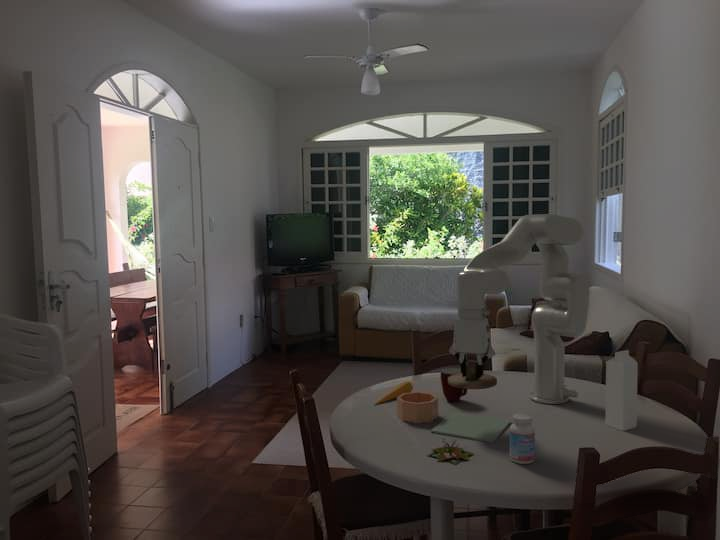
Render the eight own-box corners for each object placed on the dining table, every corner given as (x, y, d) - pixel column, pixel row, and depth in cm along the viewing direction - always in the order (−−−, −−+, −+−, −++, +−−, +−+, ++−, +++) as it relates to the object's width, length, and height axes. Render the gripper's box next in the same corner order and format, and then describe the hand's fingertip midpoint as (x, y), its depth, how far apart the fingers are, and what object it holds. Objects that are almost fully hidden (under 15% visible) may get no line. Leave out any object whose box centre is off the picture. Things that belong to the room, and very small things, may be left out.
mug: (476, 402, 198) (475, 372, 197) (459, 407, 193) (459, 377, 192) (451, 395, 206) (451, 367, 205) (435, 400, 201) (435, 371, 200)
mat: (510, 422, 177) (510, 420, 177) (492, 442, 162) (492, 440, 162) (453, 414, 186) (453, 412, 186) (430, 432, 170) (430, 430, 170)
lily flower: (483, 455, 154) (483, 438, 154) (457, 470, 145) (457, 452, 145) (444, 444, 162) (444, 428, 162) (417, 458, 153) (417, 441, 153)
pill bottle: (521, 466, 146) (521, 421, 145) (504, 458, 151) (504, 414, 150) (540, 461, 148) (540, 417, 148) (522, 453, 154) (522, 410, 153)
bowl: (442, 413, 187) (442, 395, 186) (427, 425, 176) (427, 405, 176) (408, 408, 192) (408, 390, 192) (392, 419, 182) (392, 400, 182)
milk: (636, 427, 171) (638, 352, 169) (622, 431, 168) (624, 354, 167) (618, 421, 177) (620, 348, 175) (604, 425, 174) (606, 350, 172)
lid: (502, 378, 176) (502, 358, 175) (488, 391, 163) (488, 370, 163) (457, 373, 182) (457, 354, 182) (440, 385, 170) (440, 365, 170)
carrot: (407, 393, 212) (402, 381, 213) (416, 390, 209) (411, 378, 210) (371, 412, 198) (366, 400, 198) (380, 410, 195) (375, 397, 195)
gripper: (503, 313, 170) (504, 376, 172) (448, 310, 178) (449, 370, 180) (495, 317, 164) (496, 383, 165) (439, 314, 172) (440, 376, 174)
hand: (472, 375), depth 173 cm, fingers closed on lid, 3 cm apart
